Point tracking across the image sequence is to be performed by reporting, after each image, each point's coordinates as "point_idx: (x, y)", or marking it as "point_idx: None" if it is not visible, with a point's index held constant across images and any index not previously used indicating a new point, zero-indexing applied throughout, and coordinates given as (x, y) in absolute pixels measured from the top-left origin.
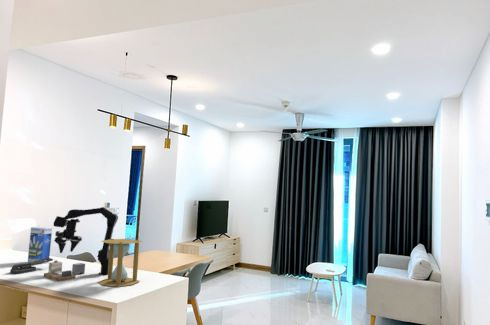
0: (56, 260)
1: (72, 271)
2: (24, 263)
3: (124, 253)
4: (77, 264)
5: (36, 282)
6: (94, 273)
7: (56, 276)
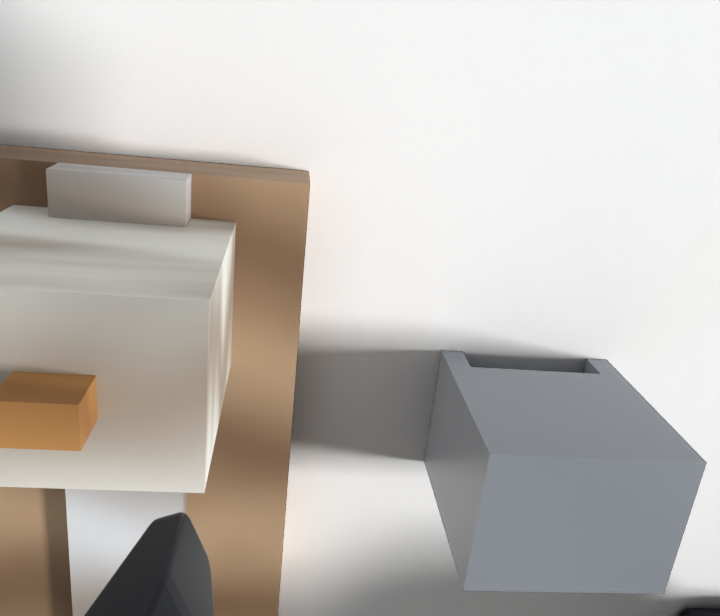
0: (57, 420)
1: (449, 387)
2: None
3: None
4: (522, 551)
5: None
6: None
7: (1, 561)
